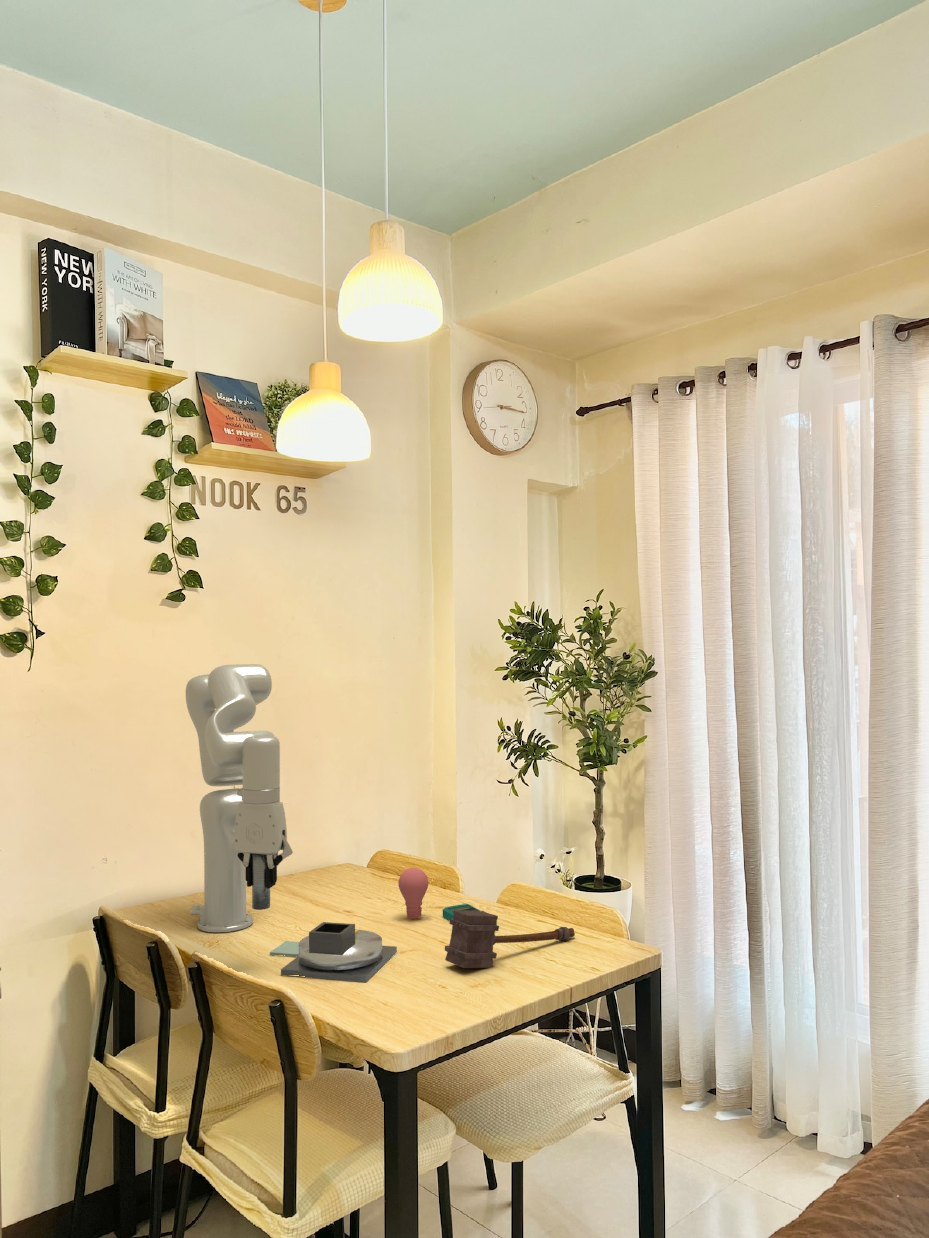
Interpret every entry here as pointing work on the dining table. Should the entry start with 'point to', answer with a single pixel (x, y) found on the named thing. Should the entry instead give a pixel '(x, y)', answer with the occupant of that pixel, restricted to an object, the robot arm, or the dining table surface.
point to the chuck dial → (339, 947)
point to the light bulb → (413, 890)
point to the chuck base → (346, 975)
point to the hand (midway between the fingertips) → (261, 884)
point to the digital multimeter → (450, 910)
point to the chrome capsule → (260, 882)
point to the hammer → (486, 938)
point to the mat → (287, 949)
